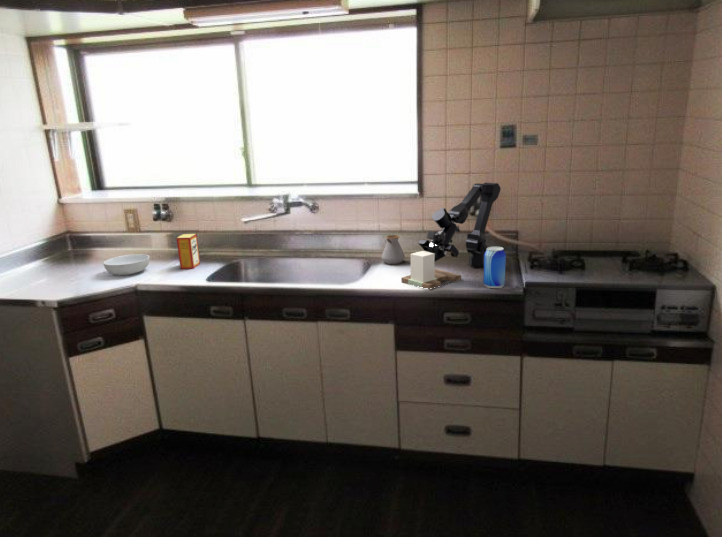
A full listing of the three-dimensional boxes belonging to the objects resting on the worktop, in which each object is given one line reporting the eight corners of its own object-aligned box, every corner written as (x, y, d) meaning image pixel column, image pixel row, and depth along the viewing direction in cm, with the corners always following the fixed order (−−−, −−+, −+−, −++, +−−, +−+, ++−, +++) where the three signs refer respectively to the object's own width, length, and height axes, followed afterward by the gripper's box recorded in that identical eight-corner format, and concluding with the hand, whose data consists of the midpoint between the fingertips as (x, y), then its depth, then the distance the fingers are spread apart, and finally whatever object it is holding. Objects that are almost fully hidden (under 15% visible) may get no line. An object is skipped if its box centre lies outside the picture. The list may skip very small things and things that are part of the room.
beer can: (492, 282, 223) (493, 244, 218) (508, 286, 216) (510, 248, 212) (479, 286, 218) (480, 248, 213) (495, 290, 211) (497, 251, 207)
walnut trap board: (433, 272, 240) (433, 268, 239) (461, 279, 228) (461, 275, 227) (401, 282, 227) (401, 277, 227) (429, 290, 215) (429, 285, 215)
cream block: (422, 275, 228) (422, 250, 226) (434, 278, 223) (434, 253, 220) (410, 279, 224) (410, 253, 221) (423, 282, 219) (422, 256, 216)
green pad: (422, 279, 230) (422, 275, 229) (436, 283, 224) (436, 278, 223) (408, 284, 224) (408, 279, 224) (422, 288, 218) (422, 283, 218)
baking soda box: (187, 264, 271) (183, 233, 267) (200, 263, 271) (196, 233, 267) (180, 269, 262) (176, 237, 258) (193, 268, 262) (189, 237, 258)
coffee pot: (383, 259, 266) (382, 229, 262) (406, 259, 264) (406, 229, 260) (375, 270, 246) (375, 239, 242) (400, 271, 244) (400, 239, 240)
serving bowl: (127, 266, 272) (125, 252, 271) (160, 268, 266) (158, 254, 264) (95, 277, 254) (92, 263, 252) (130, 280, 247) (128, 265, 245)
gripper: (421, 220, 230) (403, 250, 226) (454, 226, 216) (436, 257, 213) (433, 235, 237) (416, 264, 233) (466, 241, 223) (449, 272, 219)
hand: (428, 264), depth 224 cm, fingers closed
